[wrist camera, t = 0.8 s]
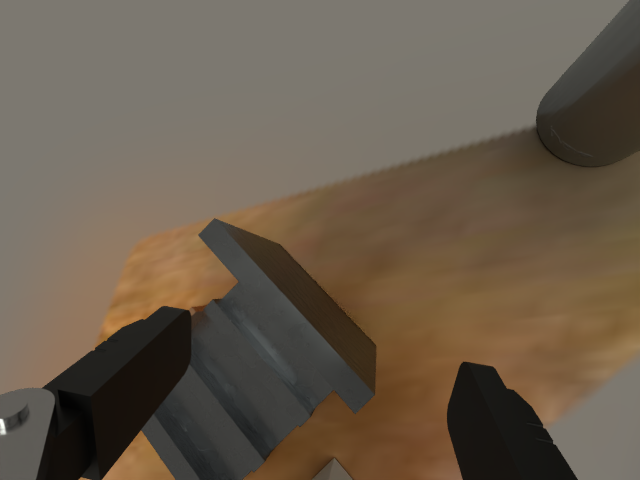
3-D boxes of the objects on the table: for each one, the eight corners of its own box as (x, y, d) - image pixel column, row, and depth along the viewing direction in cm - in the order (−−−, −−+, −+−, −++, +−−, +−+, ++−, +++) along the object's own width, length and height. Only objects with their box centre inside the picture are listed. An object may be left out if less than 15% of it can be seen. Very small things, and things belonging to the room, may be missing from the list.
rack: (276, 240, 34) (208, 212, 21) (376, 345, 31) (374, 394, 17) (125, 393, 35) (-37, 463, 21) (207, 511, 32) (79, 683, 18)
